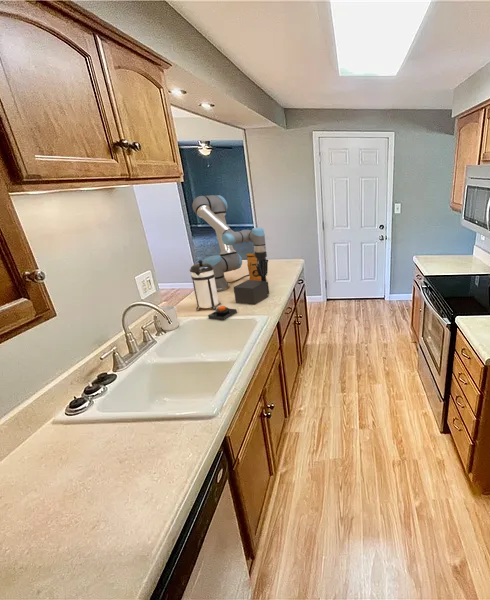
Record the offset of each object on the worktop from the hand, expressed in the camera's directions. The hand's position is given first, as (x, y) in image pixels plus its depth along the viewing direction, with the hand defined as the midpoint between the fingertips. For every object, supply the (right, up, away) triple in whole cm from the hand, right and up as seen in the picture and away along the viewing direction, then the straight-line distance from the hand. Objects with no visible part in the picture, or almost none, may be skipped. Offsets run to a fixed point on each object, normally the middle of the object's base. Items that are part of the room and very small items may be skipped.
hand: (264, 284), depth 229 cm
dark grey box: (-4, -10, -12) cm, 17 cm away
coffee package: (-14, +4, +27) cm, 30 cm away
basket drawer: (-3, -8, -8) cm, 11 cm away
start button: (-12, -16, -39) cm, 44 cm away
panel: (-12, -20, -38) cm, 44 cm away
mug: (-34, -25, -51) cm, 66 cm away
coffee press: (-27, -15, -24) cm, 39 cm away
